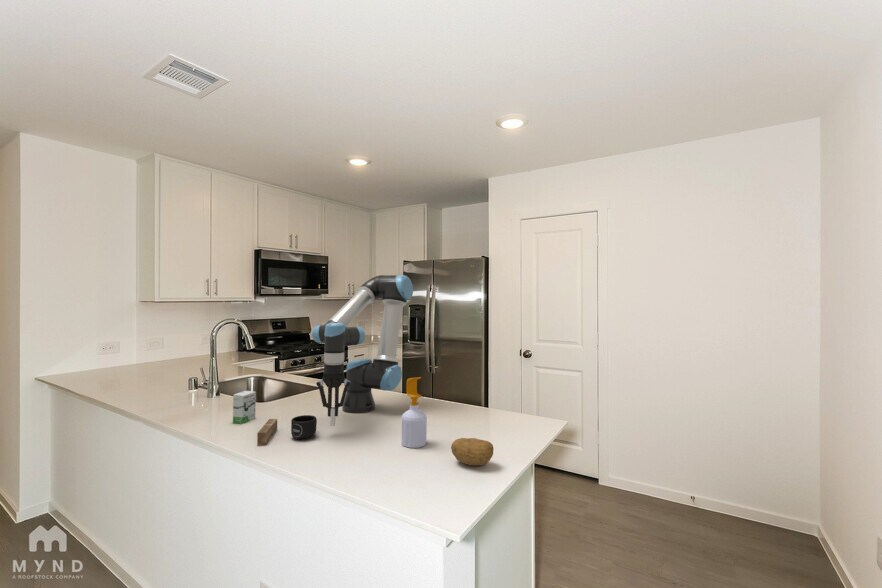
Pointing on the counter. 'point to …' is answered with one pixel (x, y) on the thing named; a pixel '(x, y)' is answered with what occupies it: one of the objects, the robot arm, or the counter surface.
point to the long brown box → (267, 432)
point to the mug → (303, 427)
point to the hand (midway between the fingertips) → (332, 424)
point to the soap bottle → (413, 419)
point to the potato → (472, 451)
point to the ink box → (244, 406)
